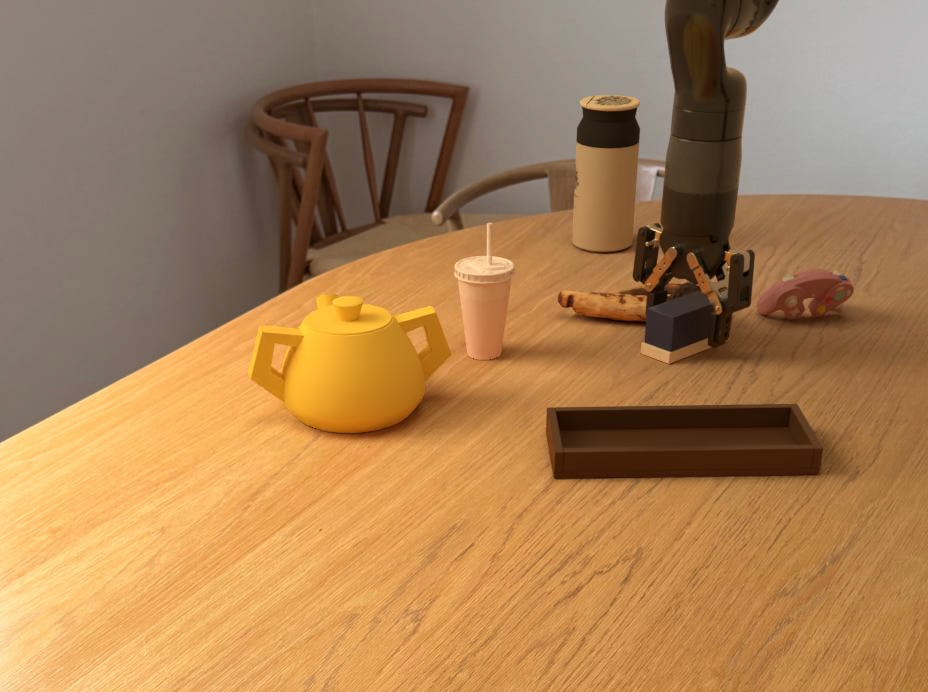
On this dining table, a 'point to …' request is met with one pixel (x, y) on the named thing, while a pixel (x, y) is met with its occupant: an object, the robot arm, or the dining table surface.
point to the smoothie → (484, 300)
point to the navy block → (677, 328)
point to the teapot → (350, 364)
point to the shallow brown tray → (681, 441)
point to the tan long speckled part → (618, 301)
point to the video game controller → (806, 293)
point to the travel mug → (606, 173)
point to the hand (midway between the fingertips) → (685, 334)
